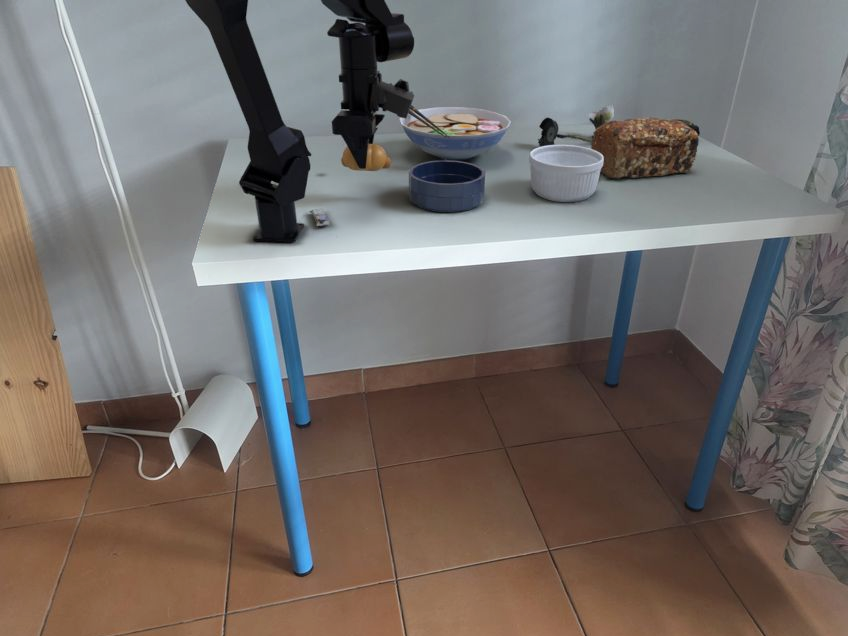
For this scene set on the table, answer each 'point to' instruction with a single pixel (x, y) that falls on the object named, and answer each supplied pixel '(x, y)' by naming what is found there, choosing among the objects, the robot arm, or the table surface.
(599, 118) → the artificial flower
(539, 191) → the ramekin
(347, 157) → the croissant
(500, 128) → the ramen bowl
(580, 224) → the table surface
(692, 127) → the tape measure
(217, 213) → the table surface
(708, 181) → the table surface
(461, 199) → the bowl
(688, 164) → the bread
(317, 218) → the granola bar
